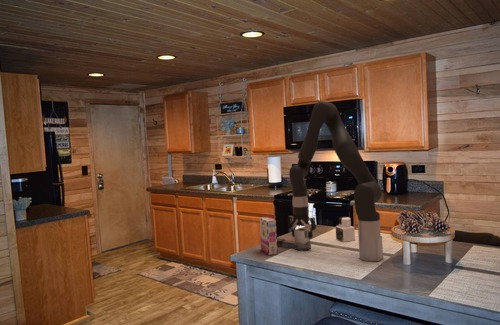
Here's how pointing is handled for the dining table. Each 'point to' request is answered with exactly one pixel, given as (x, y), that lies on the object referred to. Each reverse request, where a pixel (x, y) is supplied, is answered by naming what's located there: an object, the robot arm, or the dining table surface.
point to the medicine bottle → (345, 230)
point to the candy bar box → (268, 235)
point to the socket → (301, 235)
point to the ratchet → (293, 245)
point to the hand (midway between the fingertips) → (302, 237)
